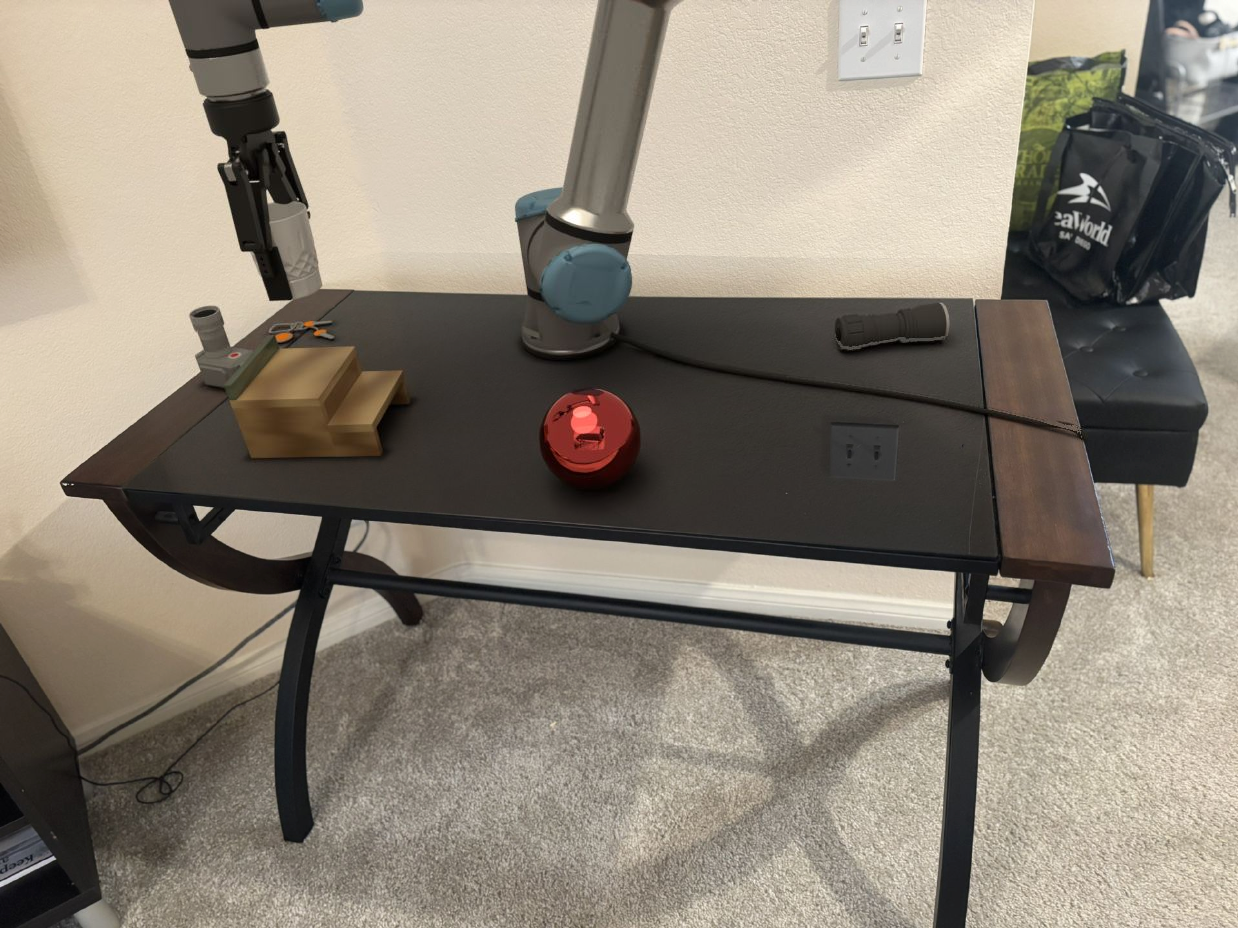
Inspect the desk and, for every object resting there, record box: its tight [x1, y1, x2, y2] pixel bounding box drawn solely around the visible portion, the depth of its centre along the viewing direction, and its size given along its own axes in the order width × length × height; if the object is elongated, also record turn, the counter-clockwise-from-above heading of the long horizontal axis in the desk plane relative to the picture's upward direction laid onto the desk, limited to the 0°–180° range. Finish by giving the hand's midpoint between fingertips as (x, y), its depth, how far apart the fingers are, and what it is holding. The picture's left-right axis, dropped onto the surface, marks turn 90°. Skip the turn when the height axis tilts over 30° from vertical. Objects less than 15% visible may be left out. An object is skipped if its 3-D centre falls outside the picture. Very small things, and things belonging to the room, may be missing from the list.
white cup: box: [249, 201, 323, 301], centre depth 111 cm, size 8×8×10 cm
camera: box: [188, 305, 255, 389], centre depth 135 cm, size 9×12×15 cm
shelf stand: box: [223, 334, 411, 459], centre depth 122 cm, size 18×14×11 cm
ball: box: [538, 387, 642, 491], centre depth 107 cm, size 12×12×12 cm
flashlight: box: [834, 302, 951, 352], centre depth 130 cm, size 15×5×5 cm, turn 94°
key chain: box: [268, 320, 335, 344], centre depth 151 cm, size 13×7×1 cm, turn 84°
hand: (294, 285), depth 113 cm, fingers closed on white cup, 8 cm apart
